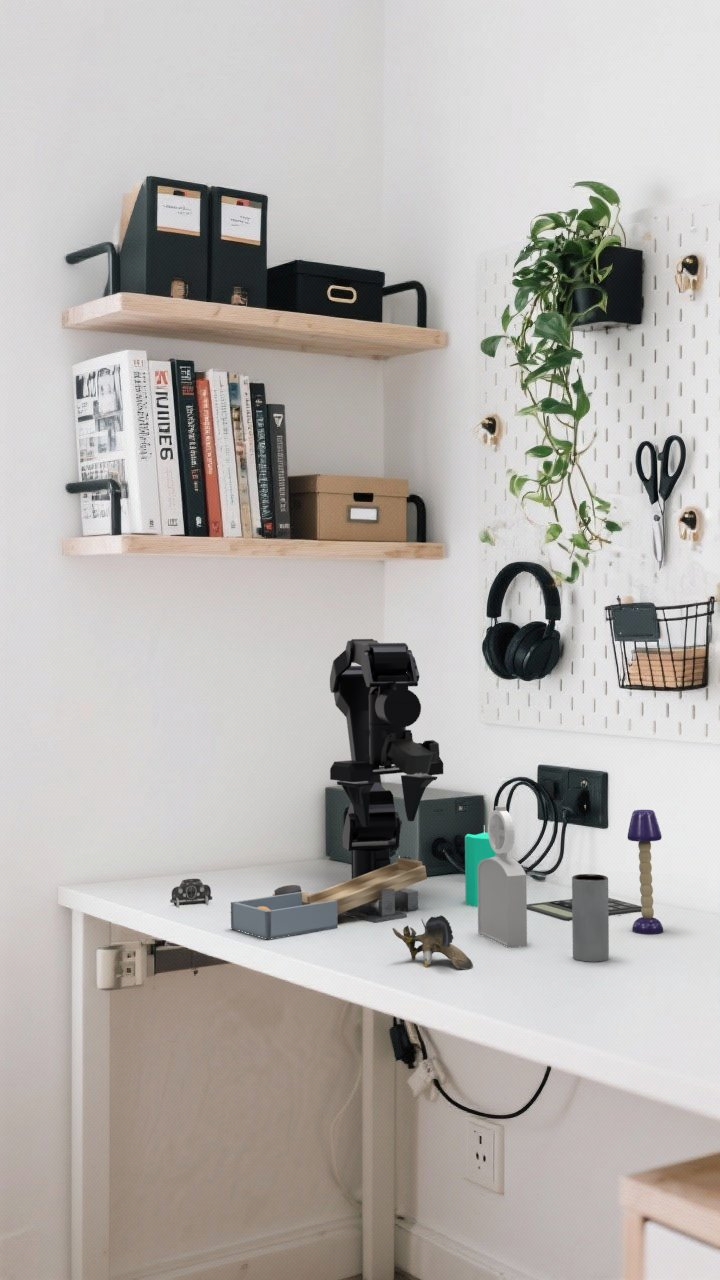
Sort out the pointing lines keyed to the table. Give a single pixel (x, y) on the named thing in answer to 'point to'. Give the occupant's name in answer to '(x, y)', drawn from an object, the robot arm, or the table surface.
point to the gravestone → (502, 886)
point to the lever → (364, 885)
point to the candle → (475, 863)
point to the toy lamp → (645, 867)
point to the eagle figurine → (435, 942)
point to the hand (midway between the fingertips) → (388, 823)
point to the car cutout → (191, 893)
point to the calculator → (564, 908)
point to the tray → (282, 916)
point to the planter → (590, 917)
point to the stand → (386, 905)
